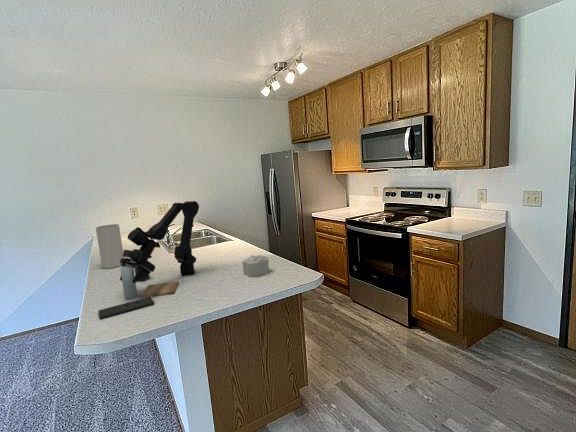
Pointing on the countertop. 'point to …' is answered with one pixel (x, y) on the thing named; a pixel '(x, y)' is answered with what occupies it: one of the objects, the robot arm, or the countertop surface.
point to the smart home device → (125, 307)
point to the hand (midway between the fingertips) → (127, 281)
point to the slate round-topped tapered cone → (128, 282)
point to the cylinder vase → (110, 245)
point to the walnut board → (160, 289)
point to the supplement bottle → (144, 276)
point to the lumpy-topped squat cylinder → (255, 266)
